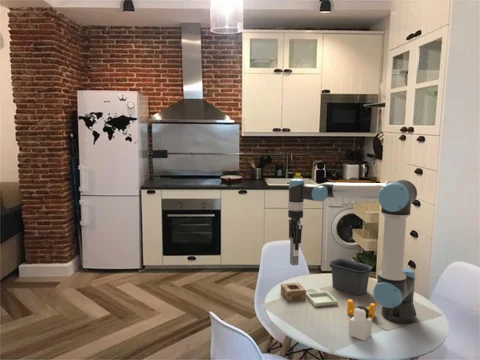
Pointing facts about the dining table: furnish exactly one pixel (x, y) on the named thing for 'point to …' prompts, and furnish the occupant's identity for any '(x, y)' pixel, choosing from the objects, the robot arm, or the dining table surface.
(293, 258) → the grey wooden beam
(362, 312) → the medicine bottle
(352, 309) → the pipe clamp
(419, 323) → the dining table surface
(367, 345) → the dining table surface
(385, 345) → the dining table surface
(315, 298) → the tray
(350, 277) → the storage bin
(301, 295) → the hollow wooden square
